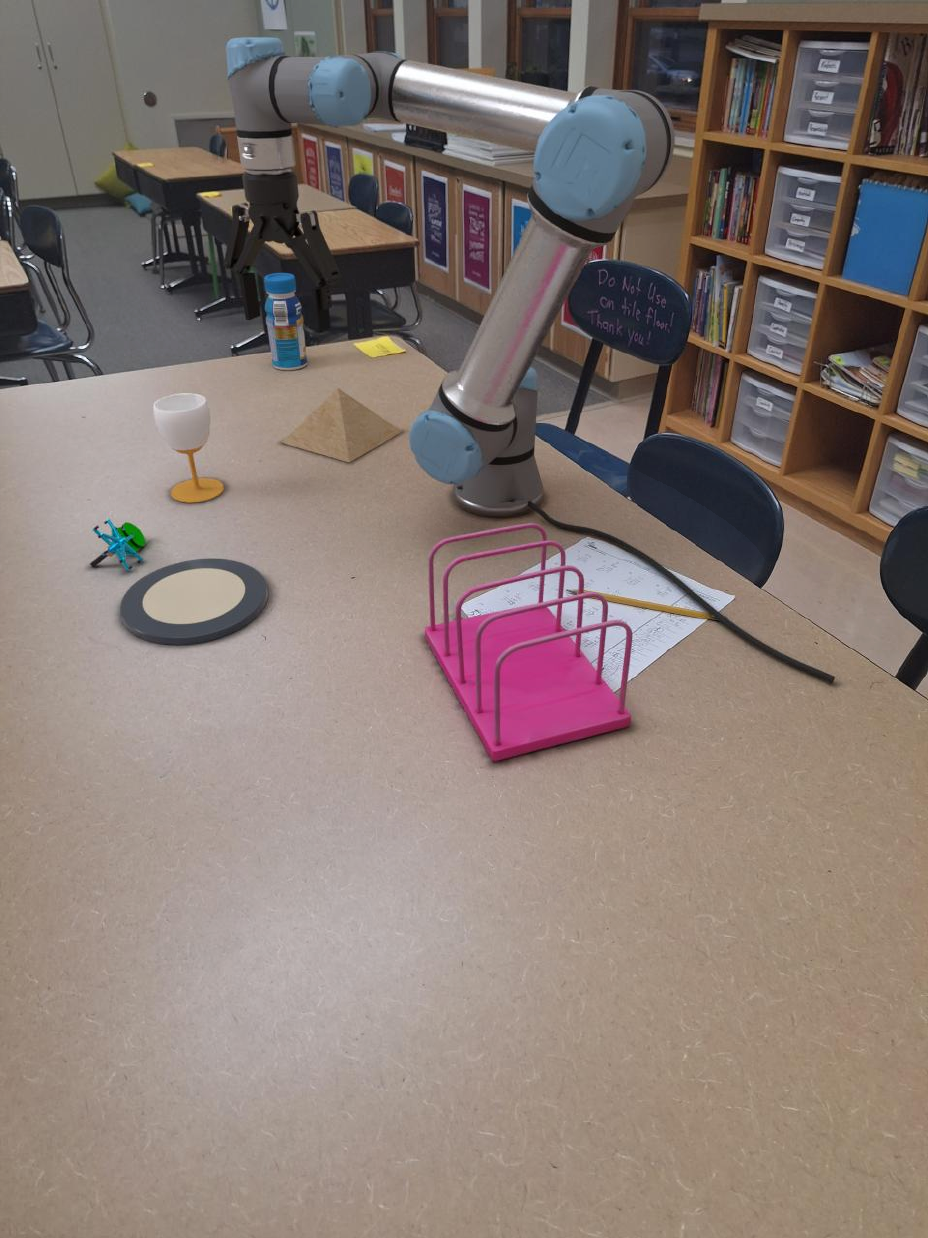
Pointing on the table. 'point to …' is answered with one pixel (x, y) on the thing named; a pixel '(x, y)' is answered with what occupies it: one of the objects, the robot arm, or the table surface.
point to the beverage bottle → (284, 322)
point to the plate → (194, 601)
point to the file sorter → (526, 662)
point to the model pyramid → (341, 429)
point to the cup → (187, 440)
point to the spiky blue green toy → (121, 543)
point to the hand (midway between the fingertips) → (287, 324)
